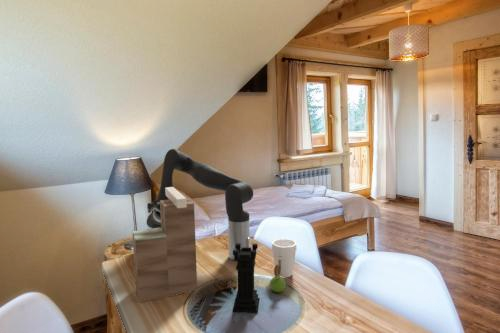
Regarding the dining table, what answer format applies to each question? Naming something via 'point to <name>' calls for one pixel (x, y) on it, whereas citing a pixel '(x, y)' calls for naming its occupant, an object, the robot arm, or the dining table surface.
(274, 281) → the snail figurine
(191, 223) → the stepped stand
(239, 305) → the chess piece
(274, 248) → the foam cup
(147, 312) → the dining table surface
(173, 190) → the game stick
